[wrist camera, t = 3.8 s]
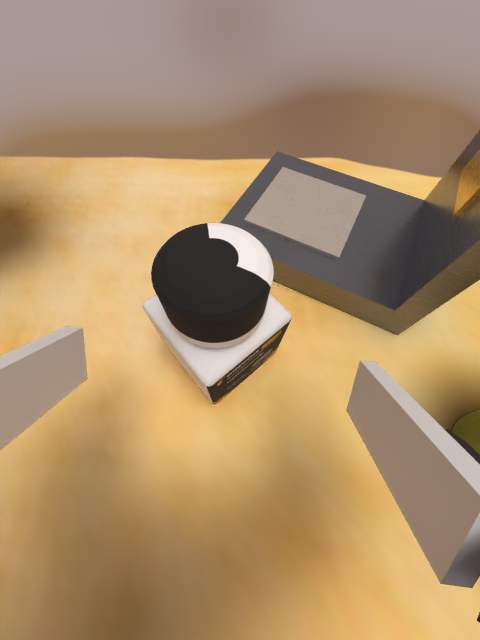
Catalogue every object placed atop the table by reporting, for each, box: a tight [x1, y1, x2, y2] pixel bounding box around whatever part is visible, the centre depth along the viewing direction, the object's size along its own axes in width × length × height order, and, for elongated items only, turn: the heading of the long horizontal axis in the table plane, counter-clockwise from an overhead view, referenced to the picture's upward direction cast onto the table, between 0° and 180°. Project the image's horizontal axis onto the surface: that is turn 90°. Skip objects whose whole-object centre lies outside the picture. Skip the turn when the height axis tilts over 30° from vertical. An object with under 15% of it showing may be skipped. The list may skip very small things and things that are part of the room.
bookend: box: [221, 130, 480, 335], centre depth 22 cm, size 20×16×15 cm
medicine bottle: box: [143, 223, 292, 404], centre depth 17 cm, size 7×7×12 cm
